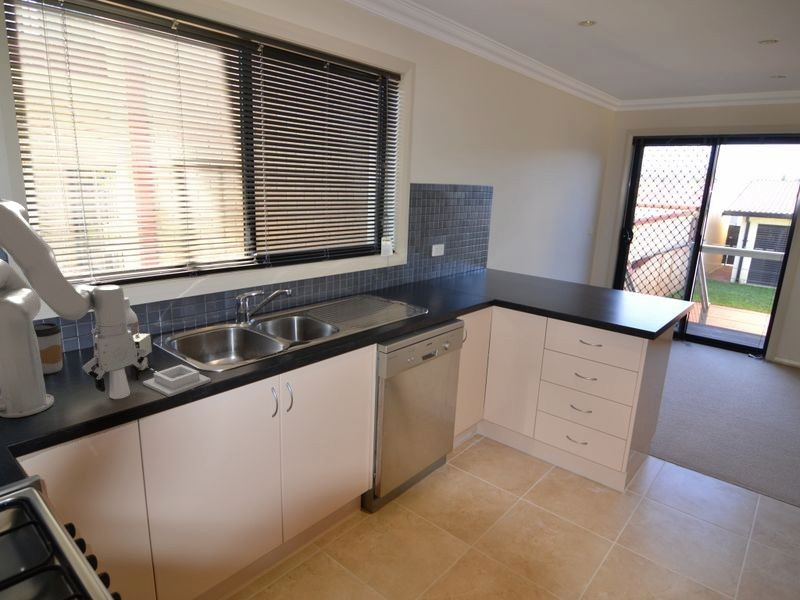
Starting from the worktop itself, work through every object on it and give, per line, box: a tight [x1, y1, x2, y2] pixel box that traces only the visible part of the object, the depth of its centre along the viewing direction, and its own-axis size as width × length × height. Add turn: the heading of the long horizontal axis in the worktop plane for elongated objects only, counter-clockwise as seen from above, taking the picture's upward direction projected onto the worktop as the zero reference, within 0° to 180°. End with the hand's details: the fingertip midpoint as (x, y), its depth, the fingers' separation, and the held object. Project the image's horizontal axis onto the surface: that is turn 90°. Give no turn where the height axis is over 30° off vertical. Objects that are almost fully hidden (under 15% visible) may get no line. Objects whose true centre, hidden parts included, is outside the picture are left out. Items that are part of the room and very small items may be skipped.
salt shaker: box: [109, 367, 131, 400], centre depth 142 cm, size 5×5×11 cm
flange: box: [142, 364, 212, 398], centre depth 152 cm, size 14×14×4 cm
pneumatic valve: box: [133, 332, 154, 371], centre depth 161 cm, size 6×12×12 cm, turn 2°
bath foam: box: [124, 296, 140, 335], centre depth 174 cm, size 7×7×20 cm
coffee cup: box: [33, 322, 64, 375], centre depth 156 cm, size 8×8×15 cm
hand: (118, 384), depth 142 cm, fingers open, 9 cm apart
